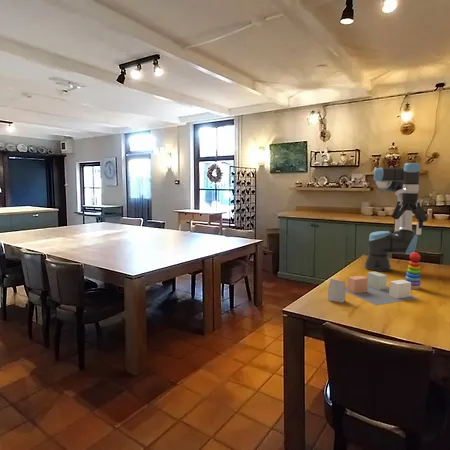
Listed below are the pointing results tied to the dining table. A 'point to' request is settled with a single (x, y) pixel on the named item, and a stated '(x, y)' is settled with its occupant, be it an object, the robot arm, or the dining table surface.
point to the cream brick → (400, 289)
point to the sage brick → (377, 280)
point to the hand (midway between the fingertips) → (407, 232)
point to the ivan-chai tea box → (336, 290)
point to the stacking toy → (414, 271)
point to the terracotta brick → (357, 284)
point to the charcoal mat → (379, 296)
